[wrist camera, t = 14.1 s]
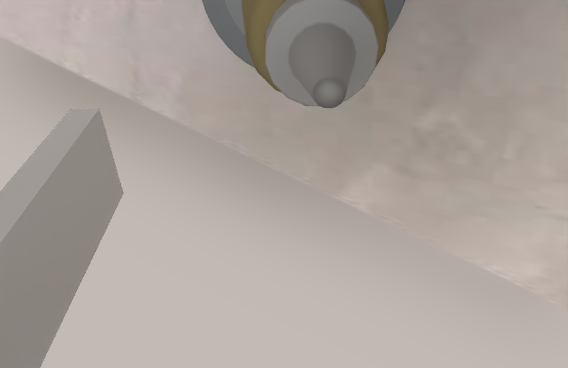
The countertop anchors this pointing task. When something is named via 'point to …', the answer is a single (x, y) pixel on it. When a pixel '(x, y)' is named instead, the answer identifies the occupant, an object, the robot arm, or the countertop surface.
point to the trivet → (230, 25)
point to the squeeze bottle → (316, 46)
